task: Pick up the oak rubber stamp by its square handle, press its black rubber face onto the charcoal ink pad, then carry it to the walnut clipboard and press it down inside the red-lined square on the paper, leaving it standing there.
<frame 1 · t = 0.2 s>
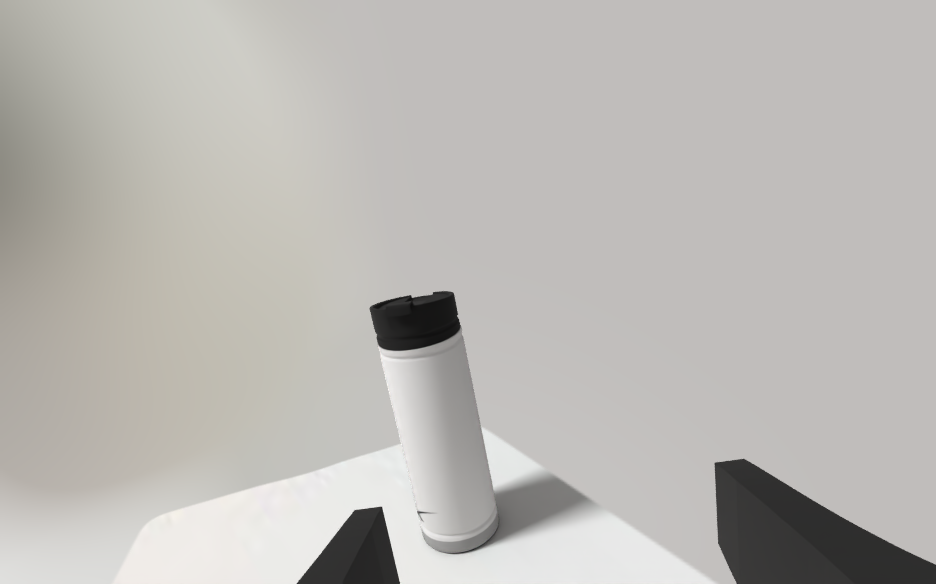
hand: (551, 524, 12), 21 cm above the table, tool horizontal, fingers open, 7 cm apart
travel mug: (461, 530, 45), on the table
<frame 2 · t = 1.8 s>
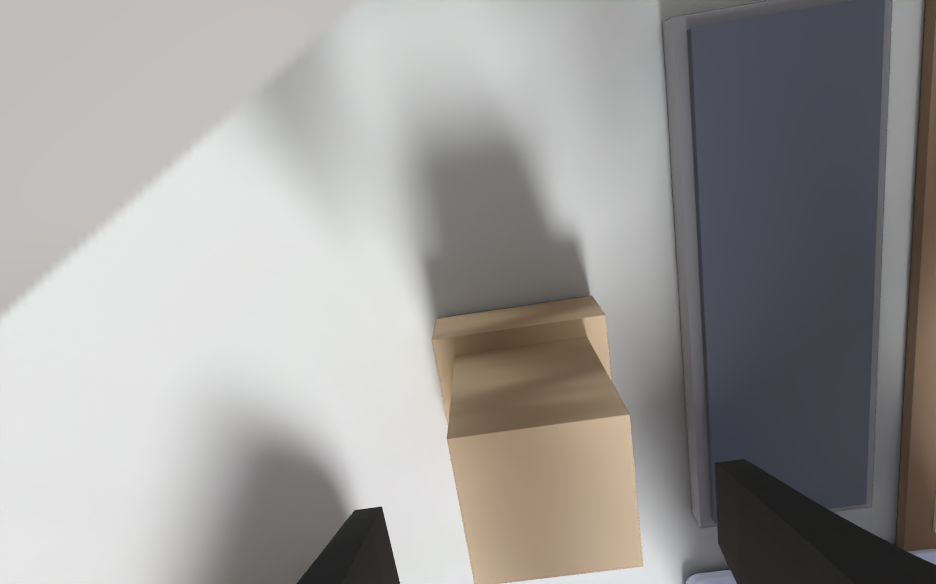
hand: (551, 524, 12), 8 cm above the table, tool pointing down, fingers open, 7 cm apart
ink pad: (770, 284, 18), on the table
stamp: (523, 375, 20), on the table
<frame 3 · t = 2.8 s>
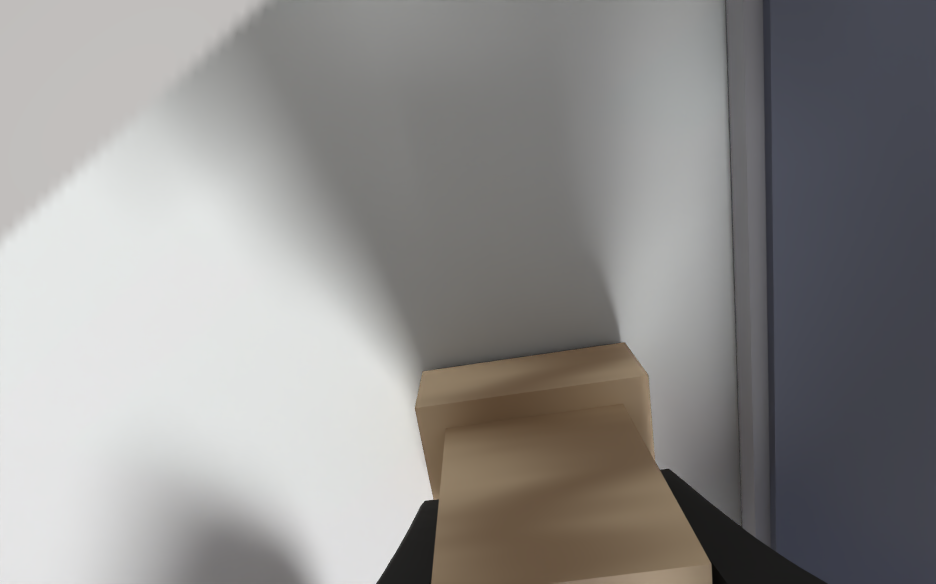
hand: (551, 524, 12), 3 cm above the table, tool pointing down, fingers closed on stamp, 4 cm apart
ink pad: (855, 326, 14), on the table
stamp: (534, 440, 15), on the table, touching gripper
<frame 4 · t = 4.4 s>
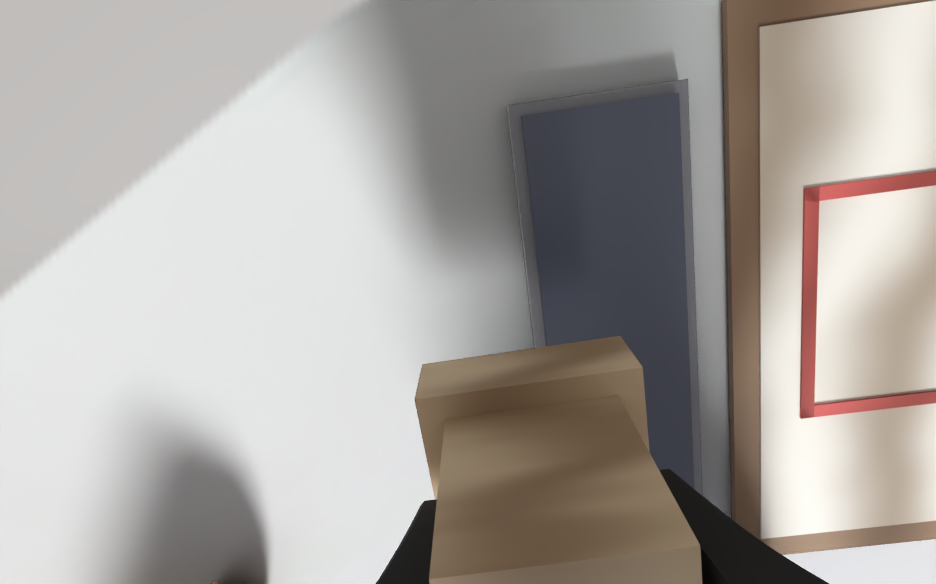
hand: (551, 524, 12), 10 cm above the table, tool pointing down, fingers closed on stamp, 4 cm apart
ink pad: (610, 323, 22), on the table
stamp: (531, 432, 16), point 7 cm above the table, touching gripper
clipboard: (915, 290, 21), on the table
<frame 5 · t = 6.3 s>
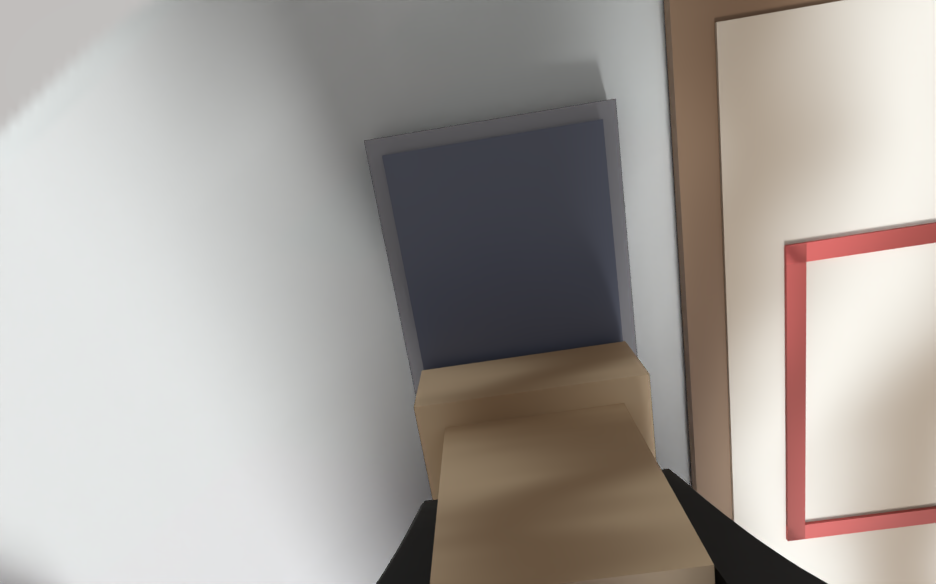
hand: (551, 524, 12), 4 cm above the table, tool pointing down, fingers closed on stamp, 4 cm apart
ink pad: (530, 422, 16), on the table
stamp: (534, 439, 15), point 1 cm above the table, touching gripper, ink pad
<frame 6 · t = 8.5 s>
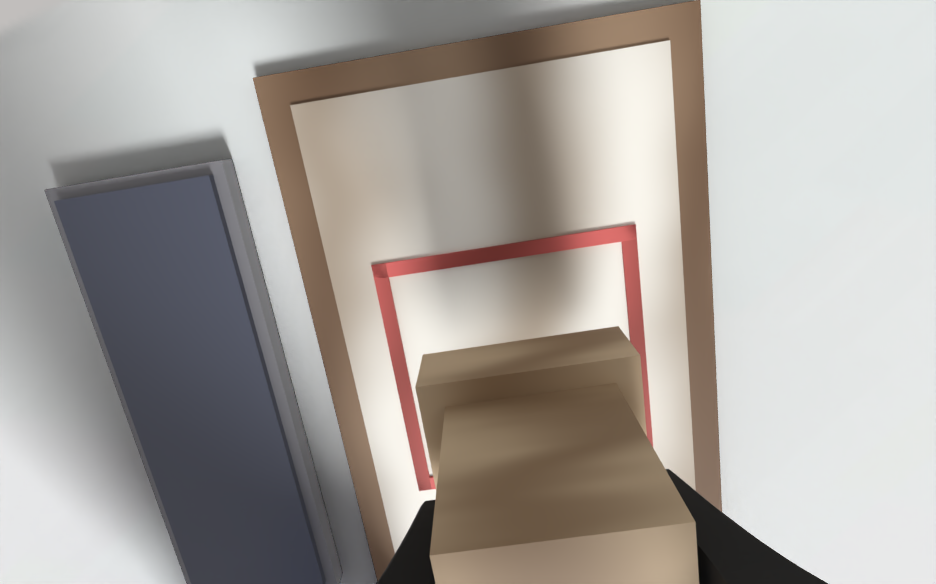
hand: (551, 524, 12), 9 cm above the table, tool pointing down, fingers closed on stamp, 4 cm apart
ink pad: (216, 399, 21), on the table
stamp: (531, 422, 16), point 5 cm above the table, touching gripper
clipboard: (518, 360, 21), on the table
when the fingers open (4 cm above the table, at t = 9.9 s): stamp stays where it is, resting on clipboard.
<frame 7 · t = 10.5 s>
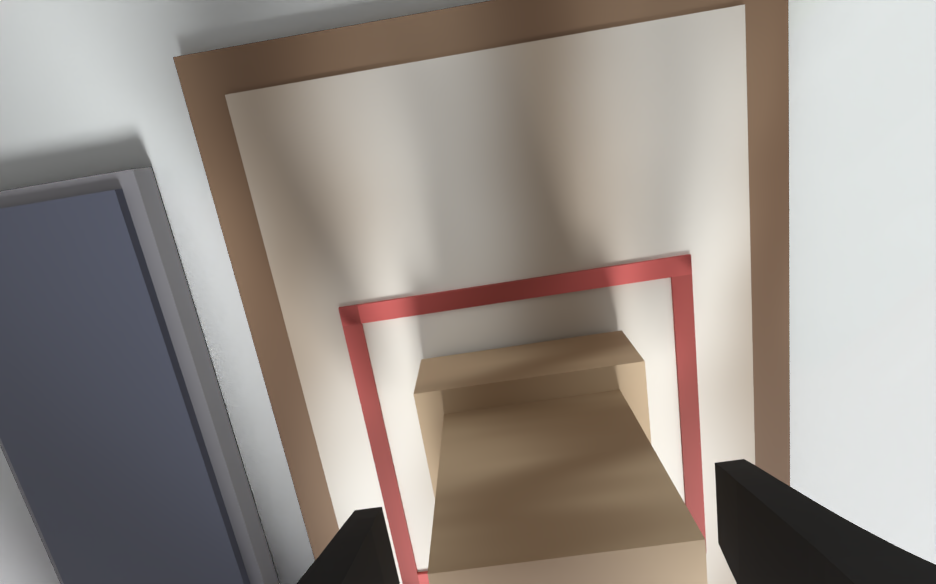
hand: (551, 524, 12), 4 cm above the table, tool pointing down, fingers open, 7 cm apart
ink pad: (143, 474, 16), on the table
stamp: (532, 428, 15), resting on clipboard
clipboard: (531, 427, 16), on the table
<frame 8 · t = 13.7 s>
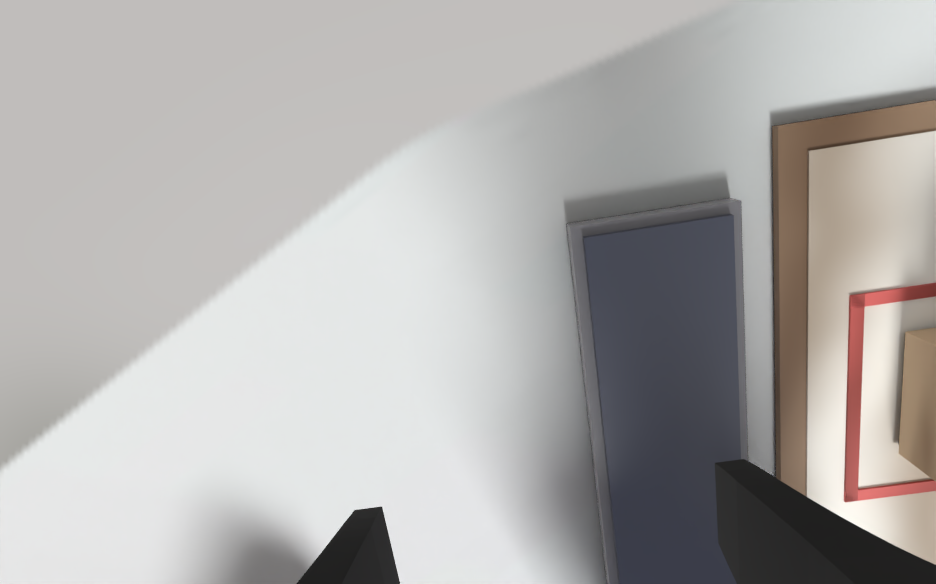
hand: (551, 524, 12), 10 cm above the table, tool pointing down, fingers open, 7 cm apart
ink pad: (662, 417, 23), on the table
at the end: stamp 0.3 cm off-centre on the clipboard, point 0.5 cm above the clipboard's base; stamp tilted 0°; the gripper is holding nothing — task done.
